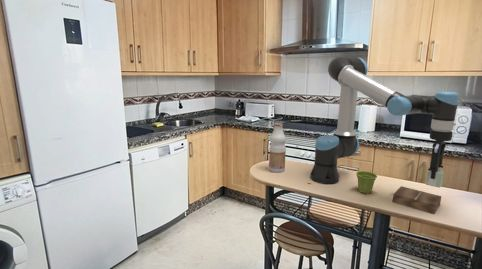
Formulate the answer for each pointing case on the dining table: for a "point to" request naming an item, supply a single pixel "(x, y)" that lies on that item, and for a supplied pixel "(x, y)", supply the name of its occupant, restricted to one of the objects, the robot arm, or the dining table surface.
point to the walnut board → (417, 199)
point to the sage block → (439, 178)
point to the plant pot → (365, 181)
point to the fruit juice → (277, 149)
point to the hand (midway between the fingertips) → (433, 183)
